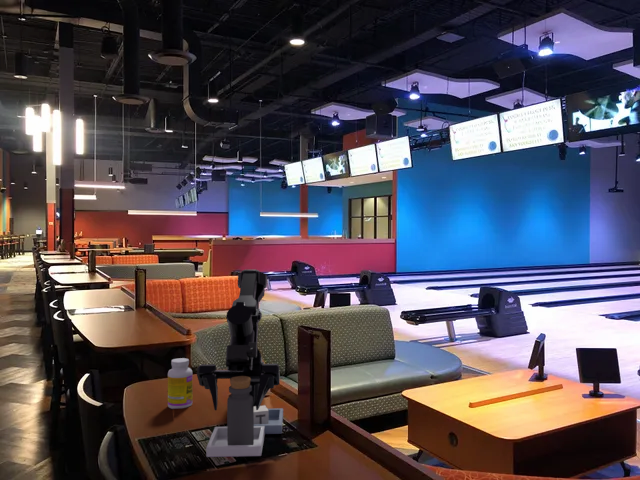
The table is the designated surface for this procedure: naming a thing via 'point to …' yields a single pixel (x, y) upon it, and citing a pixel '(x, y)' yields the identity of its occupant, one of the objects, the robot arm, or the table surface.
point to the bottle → (240, 412)
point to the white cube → (261, 415)
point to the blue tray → (274, 421)
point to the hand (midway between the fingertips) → (236, 409)
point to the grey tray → (222, 449)
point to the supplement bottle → (180, 384)
